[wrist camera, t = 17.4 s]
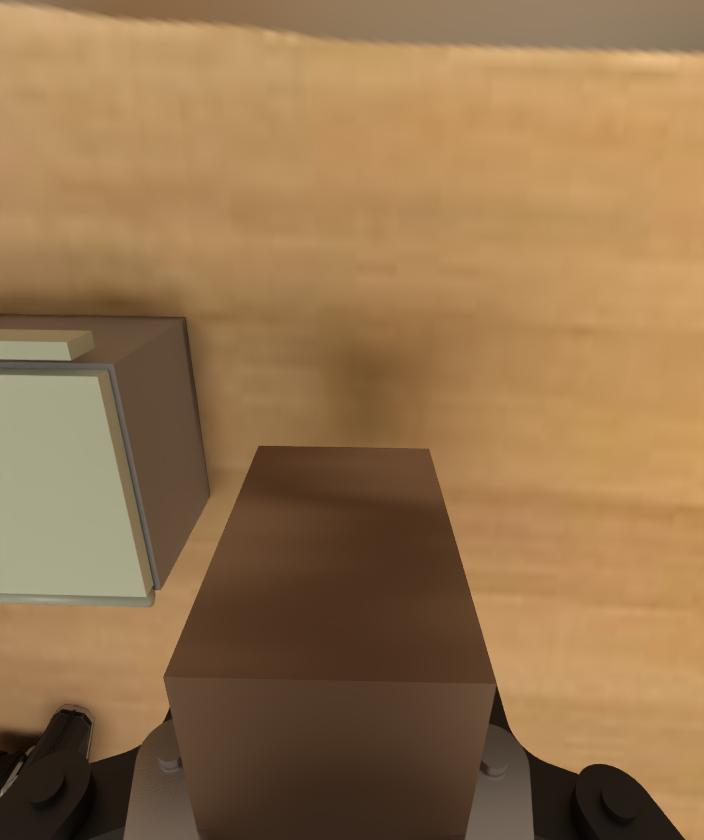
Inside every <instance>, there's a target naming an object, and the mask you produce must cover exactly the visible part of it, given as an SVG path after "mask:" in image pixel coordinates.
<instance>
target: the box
mask: <svg viewBox="0 0 704 840" xmlns="http://www.w3.org/2000/svg"><path fill="white" fill-rule="evenodd" d="M0 329H17V330H79V331H92V335H93V339H94V344H95V348H94V349H92V350H90V351H88V352H86V353H84V354H82V355H81V356H79V357H77V358H75V359H73V360H14V359H0V368H30V369H86V370H108V371H109V376H110V381H111V386H112V390H113V395H114V400H115V405H116V409H117V414H118V419H119V423H120V428H121V433H122V438H123V442H124V447H125V452H126V456H127V461H128V466H129V471H130V475H131V480H132V485H133V490H134V494H135V499H136V504H137V508H138V513H139V518H140V523H141V527H142V532H143V537H144V542H145V546H146V551H147V556H148V560H149V565H150V570H151V575H152V579H153V584H154V585H153V587H152V588H151V589H154V590H161V589H162V587H163V585H164V583H165V581H166V579H167V577H168V576H169V574H170V572H171V570H172V568H173V566H174V564H175V562H176V560H177V558H178V556H179V555H180V553H181V551H182V549H183V547H184V545H185V543H186V541H187V539H188V537H189V535H190V534H191V532H192V530H193V528H194V526H195V524H196V522H197V520H198V518H199V516H200V515H201V513H202V511H203V509H204V507H205V505H206V503H207V501H208V499H209V497H210V494H209V486H208V479H207V472H206V465H205V457H204V450H203V443H202V436H201V428H200V421H199V414H198V407H197V399H196V392H195V385H194V378H193V370H192V363H191V356H190V349H189V341H188V334H187V327H186V320H185V317H134V316H70V315H5V314H0Z"/></svg>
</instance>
